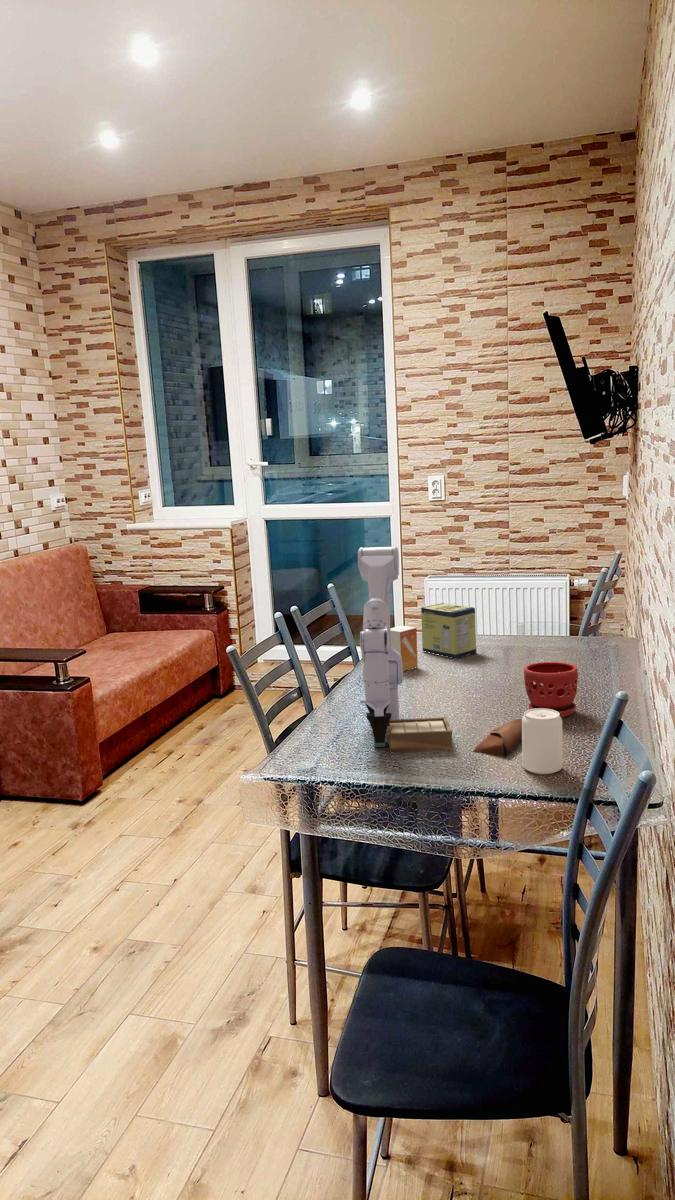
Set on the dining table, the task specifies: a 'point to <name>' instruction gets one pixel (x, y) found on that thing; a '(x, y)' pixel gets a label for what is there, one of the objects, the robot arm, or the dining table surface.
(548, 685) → the plant pot
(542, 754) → the beverage can
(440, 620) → the protein box
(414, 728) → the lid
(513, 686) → the dining table surface
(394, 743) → the brown wooden flat box
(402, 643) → the small box
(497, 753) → the sunglasses case
